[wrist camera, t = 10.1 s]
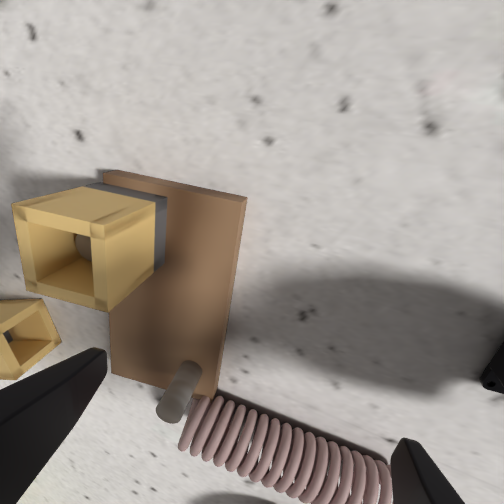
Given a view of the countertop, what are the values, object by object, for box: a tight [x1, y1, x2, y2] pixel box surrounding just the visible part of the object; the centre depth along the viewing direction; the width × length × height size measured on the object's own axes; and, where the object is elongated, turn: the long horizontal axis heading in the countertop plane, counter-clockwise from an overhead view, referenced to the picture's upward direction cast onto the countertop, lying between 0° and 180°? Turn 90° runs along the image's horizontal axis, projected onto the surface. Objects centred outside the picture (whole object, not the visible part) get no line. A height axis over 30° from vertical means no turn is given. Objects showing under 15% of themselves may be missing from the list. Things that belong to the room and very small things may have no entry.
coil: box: [178, 396, 394, 504], centre depth 24 cm, size 5×5×18 cm
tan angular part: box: [0, 299, 61, 380], centre depth 25 cm, size 5×5×6 cm
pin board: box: [75, 170, 247, 423], centre depth 20 cm, size 9×17×6 cm, turn 171°
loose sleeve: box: [11, 182, 167, 313], centre depth 17 cm, size 5×5×6 cm
